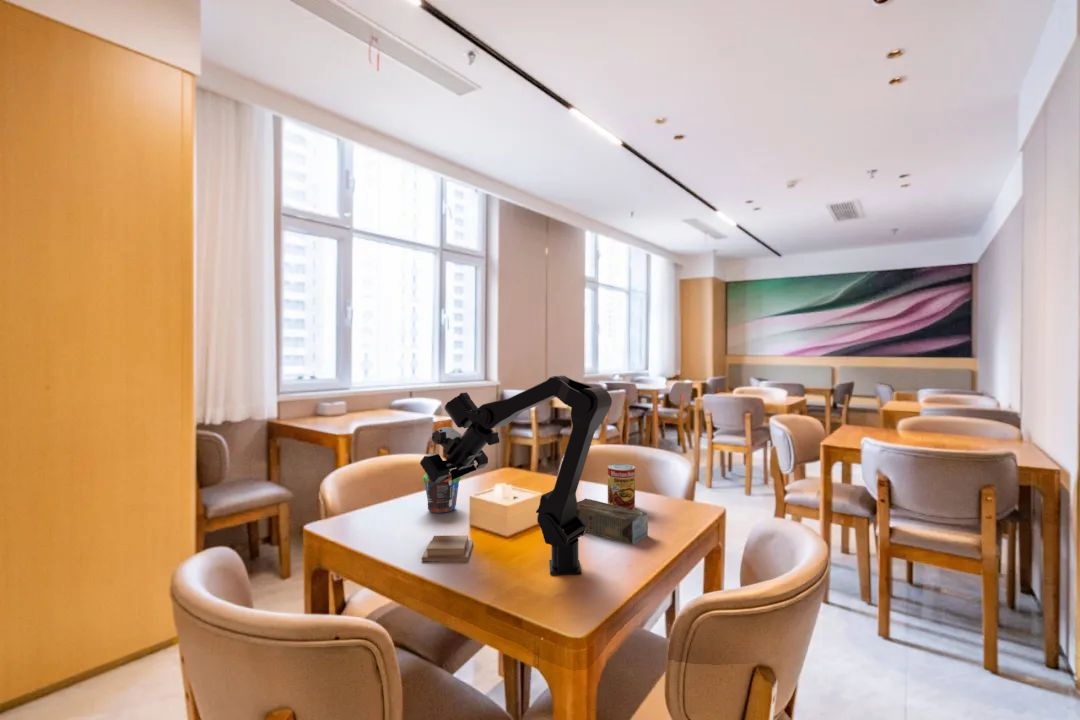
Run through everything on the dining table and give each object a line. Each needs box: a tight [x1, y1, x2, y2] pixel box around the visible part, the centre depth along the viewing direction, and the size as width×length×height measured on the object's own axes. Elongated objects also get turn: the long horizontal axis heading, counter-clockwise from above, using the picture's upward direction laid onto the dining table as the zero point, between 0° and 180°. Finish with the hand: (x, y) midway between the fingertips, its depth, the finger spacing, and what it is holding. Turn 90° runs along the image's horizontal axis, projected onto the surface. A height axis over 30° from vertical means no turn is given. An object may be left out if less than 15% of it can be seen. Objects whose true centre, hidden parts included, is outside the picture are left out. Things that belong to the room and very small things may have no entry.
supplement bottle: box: [427, 472, 452, 514], centre depth 129 cm, size 6×6×11 cm
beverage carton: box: [576, 498, 649, 545], centre depth 132 cm, size 8×19×7 cm, turn 50°
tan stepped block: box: [421, 534, 474, 563], centre depth 118 cm, size 10×10×2 cm
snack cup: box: [422, 473, 461, 514], centre depth 150 cm, size 16×10×10 cm
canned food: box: [607, 463, 636, 510], centre depth 152 cm, size 8×8×12 cm
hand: (438, 483), depth 129 cm, fingers closed on supplement bottle, 6 cm apart
